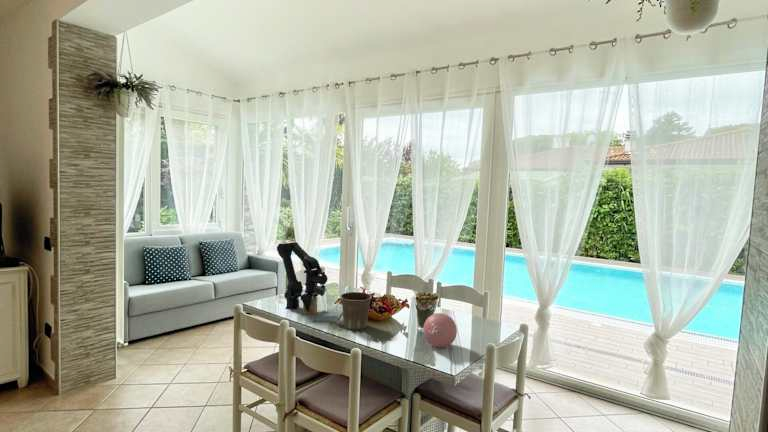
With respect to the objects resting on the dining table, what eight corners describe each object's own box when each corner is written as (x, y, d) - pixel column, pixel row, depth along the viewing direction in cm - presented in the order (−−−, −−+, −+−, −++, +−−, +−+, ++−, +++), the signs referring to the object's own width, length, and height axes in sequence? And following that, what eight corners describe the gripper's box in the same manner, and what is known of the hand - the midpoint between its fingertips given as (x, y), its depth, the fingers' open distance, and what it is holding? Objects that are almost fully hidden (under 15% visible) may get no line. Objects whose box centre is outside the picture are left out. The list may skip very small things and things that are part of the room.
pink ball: (413, 351, 180) (414, 317, 180) (429, 338, 198) (430, 307, 197) (446, 359, 173) (448, 324, 173) (460, 344, 191) (461, 312, 190)
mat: (314, 320, 217) (314, 319, 217) (322, 311, 235) (322, 310, 235) (336, 322, 216) (336, 321, 216) (342, 312, 234) (342, 311, 234)
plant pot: (366, 333, 201) (367, 301, 201) (335, 329, 205) (336, 298, 204) (373, 323, 217) (374, 293, 216) (344, 320, 221) (345, 291, 220)
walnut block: (302, 313, 229) (303, 298, 229) (305, 311, 233) (305, 296, 233) (315, 314, 228) (315, 298, 228) (316, 312, 232) (317, 297, 232)
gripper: (320, 286, 220) (319, 314, 221) (328, 279, 238) (328, 305, 239) (300, 284, 221) (299, 313, 222) (310, 277, 239) (309, 303, 240)
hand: (310, 308), depth 231 cm, fingers open, 9 cm apart
